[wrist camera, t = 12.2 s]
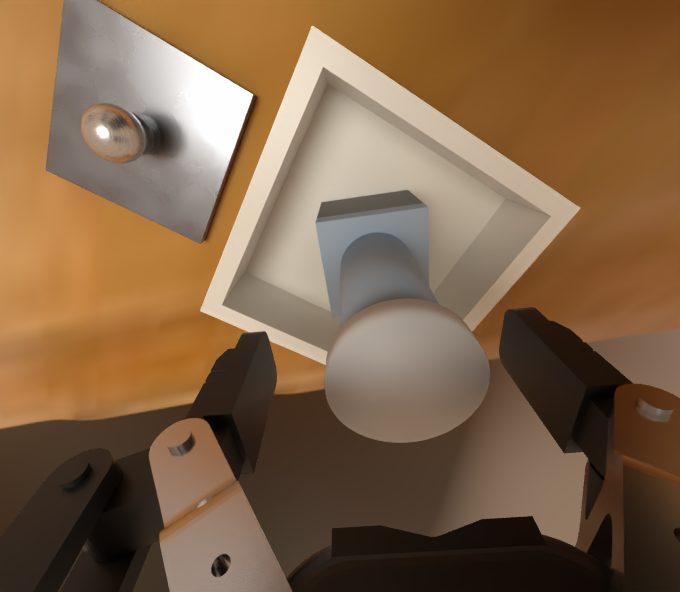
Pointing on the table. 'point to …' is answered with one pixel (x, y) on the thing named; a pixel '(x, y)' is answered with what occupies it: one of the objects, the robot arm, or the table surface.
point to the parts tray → (369, 179)
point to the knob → (393, 324)
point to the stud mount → (142, 120)
